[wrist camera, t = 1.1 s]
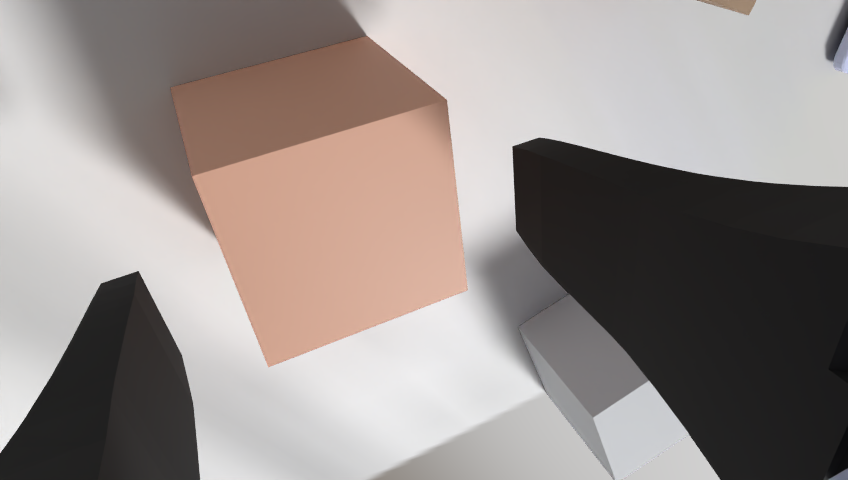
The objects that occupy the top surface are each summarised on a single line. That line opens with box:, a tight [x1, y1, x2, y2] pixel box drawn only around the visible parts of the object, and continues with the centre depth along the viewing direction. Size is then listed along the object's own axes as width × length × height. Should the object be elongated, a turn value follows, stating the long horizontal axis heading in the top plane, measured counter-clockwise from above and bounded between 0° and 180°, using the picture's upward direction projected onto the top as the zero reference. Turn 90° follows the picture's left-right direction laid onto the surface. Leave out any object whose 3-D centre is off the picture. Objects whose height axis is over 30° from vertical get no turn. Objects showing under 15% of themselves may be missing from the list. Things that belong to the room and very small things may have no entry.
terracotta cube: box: [170, 36, 468, 367], centre depth 14 cm, size 4×4×4 cm
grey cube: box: [518, 294, 689, 480], centre depth 22 cm, size 4×4×4 cm
